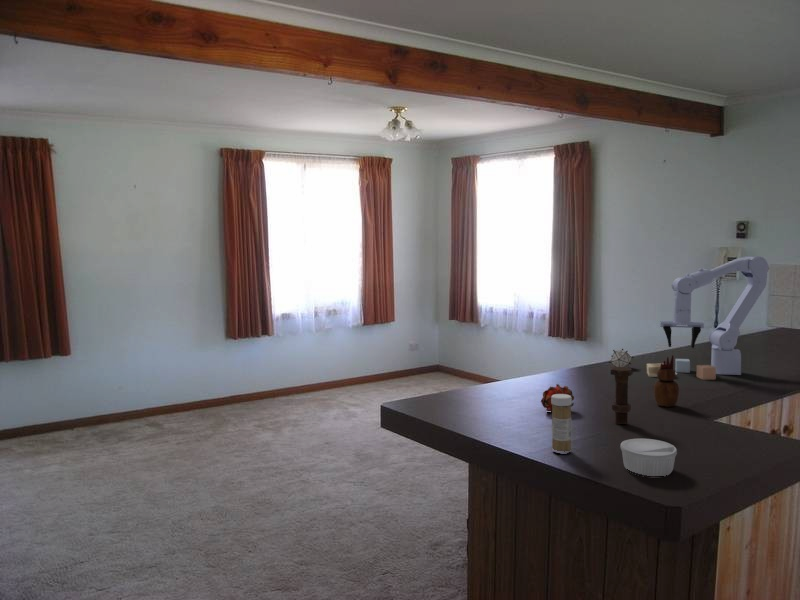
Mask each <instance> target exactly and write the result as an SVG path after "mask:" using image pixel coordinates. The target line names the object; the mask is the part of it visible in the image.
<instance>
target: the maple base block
mask: <svg viewBox="0 0 800 600" xmlns="http://www.w3.org/2000/svg"><path fill="white" fill-rule="evenodd" d="M661 363H662V362H660V363H659V362H658V363H646V374H647V376H648V377H650V378H652V377H653V378H654V377H655V378H658V377H657V372H658V370H659V369H660V366H661ZM663 363H664V362H663ZM663 363H662V364H663Z"/></svg>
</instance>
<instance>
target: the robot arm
mask: <svg viewBox="0 0 800 600" xmlns="http://www.w3.org/2000/svg"><path fill="white" fill-rule="evenodd" d="M770 268H771V267H770V266H769V264H768V261H767V259H766V258H764V257H763V256H748V255H746V256H742V257H739V258H738V257H737V258H735V259H733V260H731V261H728V262H726V263H723V264H721V265H719V266H716V267H714V268H712V269H708V268H702V267H701V268H698V269H697V271H695V272H692V273H686V274H685V276H684V277H682V276H679V277H677V278H675V280H673V282H672V284H671V289H672V290H673V291H674V295H673V296H674V297H673V318H672V319H673V320H671V321H668V320H664V321H663V320H661V321H660V323H659V327H661V328H662V329H663V331H664V333H665V336H666V339H667V343H668V344H667V345H668V347H669V348H672V328H686V329H687V328H691V342H690V348H691V349H694V348H695V345H696V341H697V339H698V337H699V335H700V334H701V332H702V329H705V323H704V322H699V321H691V316H692V315H691V314H692V293H693V291H694V290H698V289H699V288H702V287H706V286H707V285H710V284H712V283H713V281H714V279H716V278H718V277H722V276H725V275H728V274H730V273H731V274H732V273H734V272H740V273H741V274H742V276H743V277H744V278H745V281H746V284H747V285H746V286H745V288H744V289H743V291H742V293H741V295H739V297H738V299H737V301H736V302H735V304H734V305H733V307H732V308H731V310H730V311H729V313H728V315H727V316H726V318H725V319H724V320H723V321H722V322H721V323H718V325H717V327H716V328H715V329H713V330H712V331H710V332H709V334H708V335H709V336H708V340H709V343H710V344H711V352H710V353H711V358H710V359H711V362H710V365H711V366H714V367H716V375H725V376H728V375H729V376H730V375H731V376H732V375H733V376H735V375H737V376H741V375H742V353H741V350H740V349H737V348H736V349H735V347H736V346H737V344H738V337H739V336H740V327H741V325H742V324H743V323H744V321H745V319H746V318H747V316H748V315H749V313H750V312H751V311H752V308H753V307H754V306H755V304H756V302H757V300H759V297H760V296H761V295H762V293H763V292H764V290H765V288H766V287H767V281H768V272H769V270H770Z"/></svg>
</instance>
